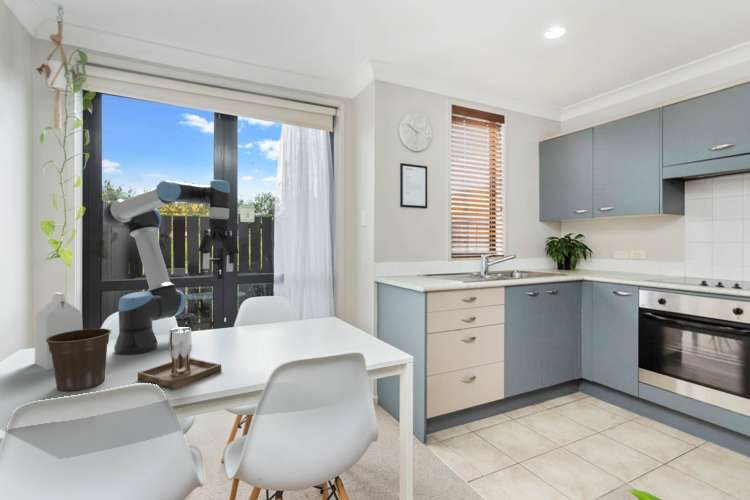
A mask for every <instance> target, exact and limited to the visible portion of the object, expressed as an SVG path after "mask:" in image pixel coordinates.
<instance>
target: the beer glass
mask: <svg viewBox="0 0 750 500" xmlns="http://www.w3.org/2000/svg"><path fill="white" fill-rule="evenodd" d="M192 344H193V339H192V328H191V327H185V326H184V327H183V326H182V327H175V328H172V329H170V330H168V350H169V354H170V360H171V362H172V369H171V375H172V376H184V375H187V374H189V373H190V372H191V369H190V363H189V360H190V358H191V354H192V353H191V352H192V346H193V345H192Z"/></svg>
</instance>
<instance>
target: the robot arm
mask: <svg viewBox="0 0 750 500" xmlns="http://www.w3.org/2000/svg"><path fill="white" fill-rule="evenodd" d="M230 197H231V186H230V182H228V181H227V180H222V179H221V180H219V179H212V180H210V182H209V185H198V184H194V183H193V184H191V183H185V182H181V181H180V182H178V181H173V180H161V181H159V183H158V184H157V185H156V187H155V188H153V189H150V190H147V191H144V192H142V193H139V194H137V195H135V196H132V197H129V198H126V199H117V200H116V199H115V200H114V201H111V202H109V203H107V204H106V205H105V206H104V208H103V209H102V218H103V220H104V221H105V222H106V224H107V225H108V226H110V227H112V228H113V229H114V228H115V229H118V230H128V232H129V236H130V237H132V238H134V239H135V243H136V246H137V250H138V254H139V257H140V260H141V261H140V262H141V264H142V268H143V271H144V275H145V278H146V282H147V284H148V289H147V291H146V290H144V291H143V290H142V291H138V292H137V291H135V292H131V293H127V294H125V295H122V296H121V297H120V298H119V299H118V307H117V309H118V335H117V338H116V341H115V344H114V347H113V348H114V349H113V350H114V351H113V352H114V354H116V355H121V356H131V355H137V354H138V355H139V354H143V353H149V352H151V351H155V350H156V349H157V348H158V340H157V337H156V335H155V332H154V330H153V329H154V328H153V322H155V321H158V320H161V319H162V320H164V319H168V318H169V319H170V318H173V317H175V316H179V315H181V314H182V312H183V311H184V308H185V307H186V296H185V293H184V292H183V291H182V290H179V289H177V287H176V285H175V284H174V283H172V282H171V281H170V279H171V278H170V277H169V273H168V270H167V266H166V263H165V260H164V255H163V253H162V248H161V247H160V242H159V239H158V235H157V233H159V230H160V227H161V224H162V221H163V220H162V215H161V213H160V211H159V209H160V208H163V207H165V206H169V205H171V204H175V203H186V204H187V203H188V204H189V203H190V204H194V205H208V204H209V209H208V210H209V211H208V216H209V219H208V228H210V229H204V232H203V238H202V239H201V242H200V245H199V247H198V251H199V252H201V253H202V255H201V256H202V270H209V269H210V261H211V260H210V258H211V257H210V255H211V253H210V251H211V249H212V247H213V246H214V245H215V243H216V242H220V243H221V244H222V245H223V247H224V249H225V251H226V253H227V255H226V268H225V269H226V272H233V271H234V263H235V256H236V255H238V254H239V249H238V246H237V242H236V240H235V235H234V230H228V229H229V228H230V227H229V226H230V220H229V218H230Z"/></svg>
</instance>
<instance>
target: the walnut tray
mask: <svg viewBox="0 0 750 500" xmlns="http://www.w3.org/2000/svg"><path fill="white" fill-rule="evenodd" d="M189 363H190V369H191V372H190V373H189V374H187V375H184V376H172V375H171V369H172V361H169V362H168V363H167V362H166V363H163V364H161V365H158V366H154V367H151V368H148V369H144V370H142V371H139V372H137V381H139V382H142V383H145V382H147V383H146V384H149V383H153V384H157V385H159V386H158V387H159V388H164V389H167V390H170V391H176V390H180V389H181V388H184V387H187V386H189V385H192V384H194V383H196V382H199V381H201V380H204V379H207V378H209V377H211V376H213V375H217V374H219V373H221V372H222V364H221V363H217V362H216V363H215V362H211V361H206V360H201V359H197V358H193V357H190V360H189ZM153 384H152V385H153Z"/></svg>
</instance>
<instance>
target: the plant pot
mask: <svg viewBox="0 0 750 500" xmlns="http://www.w3.org/2000/svg"><path fill="white" fill-rule="evenodd" d="M111 333H112V330H111V329H109V328H83V330H75V331H69V332H64V333H60V334H56V335H53V336H50V337H48V338H47V339H46V342H48V345H49V351H50V353H51V355H52V361H53V367H54V368H53V372H54V378H55V384H56V389H57V390H58V391H60V392H69V391H70V390H73V391H81V390H84V389H85V390H86V389H89V388H93V387H96V386H97V385H100V384H101V383H102V382H104V381H105V379H106V365H107V354H108V353H107V351H108V345H109V339H110V334H111Z"/></svg>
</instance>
